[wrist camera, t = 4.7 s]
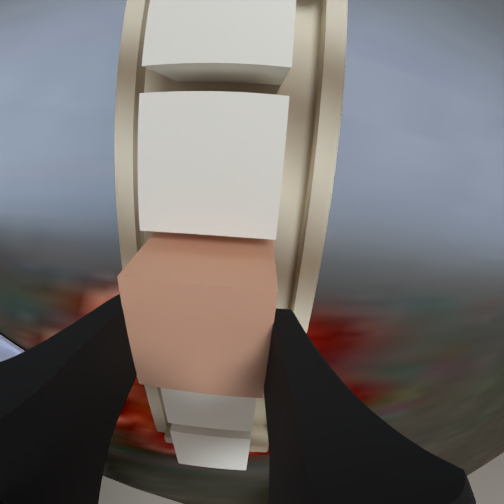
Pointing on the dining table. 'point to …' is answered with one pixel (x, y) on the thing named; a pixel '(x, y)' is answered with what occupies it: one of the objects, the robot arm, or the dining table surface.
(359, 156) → the dining table surface
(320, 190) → the rack
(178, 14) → the cream block
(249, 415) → the cream block
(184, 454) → the cream block
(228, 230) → the cream block
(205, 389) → the block terracotta
